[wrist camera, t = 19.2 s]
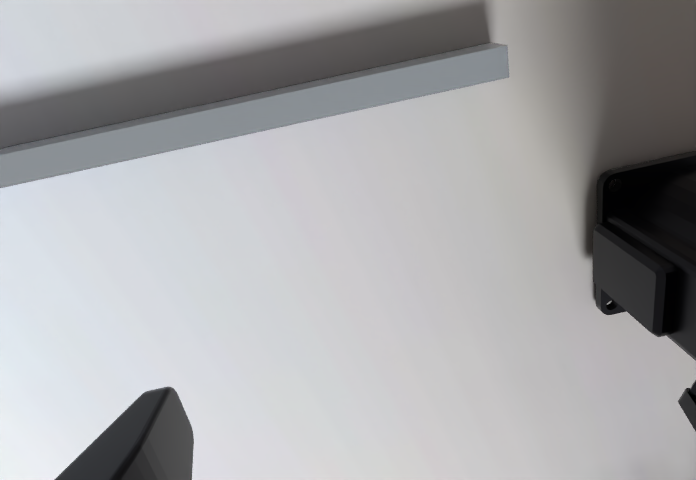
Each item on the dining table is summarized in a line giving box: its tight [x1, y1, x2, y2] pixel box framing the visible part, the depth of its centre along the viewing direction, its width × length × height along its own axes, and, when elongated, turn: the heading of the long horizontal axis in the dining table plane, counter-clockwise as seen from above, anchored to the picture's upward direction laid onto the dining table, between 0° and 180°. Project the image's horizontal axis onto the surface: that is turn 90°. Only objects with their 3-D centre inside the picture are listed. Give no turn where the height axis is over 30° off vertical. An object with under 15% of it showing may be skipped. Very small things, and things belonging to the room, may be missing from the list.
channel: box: [0, 43, 509, 188], centre depth 16 cm, size 22×8×2 cm, turn 101°
